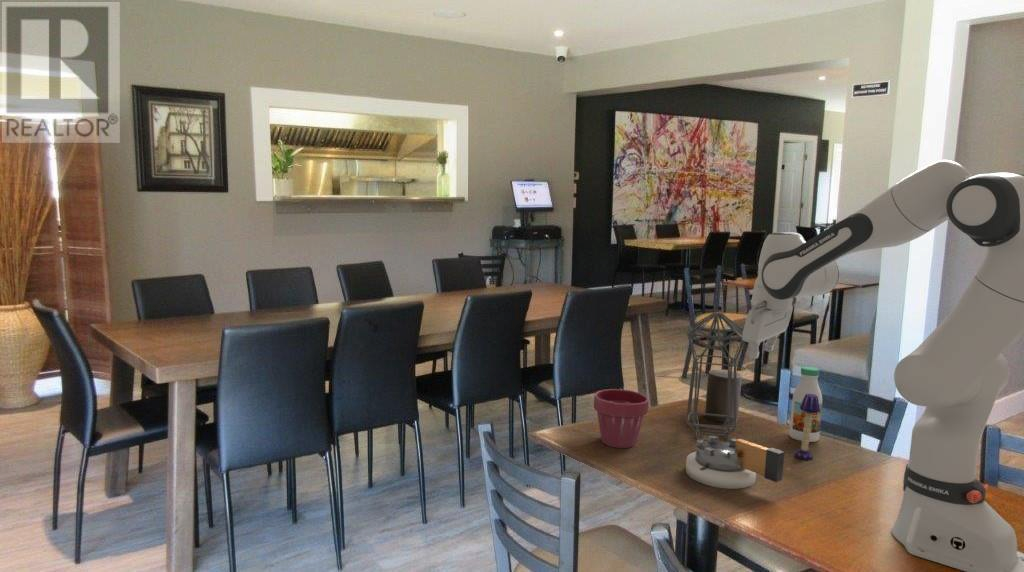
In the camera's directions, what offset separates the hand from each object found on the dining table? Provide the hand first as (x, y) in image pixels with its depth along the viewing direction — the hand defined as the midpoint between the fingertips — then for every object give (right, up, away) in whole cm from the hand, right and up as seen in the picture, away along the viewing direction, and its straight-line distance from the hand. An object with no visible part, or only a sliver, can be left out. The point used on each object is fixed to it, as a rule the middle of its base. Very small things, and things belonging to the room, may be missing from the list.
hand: (760, 354), depth 167 cm
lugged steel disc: (-7, -26, -5) cm, 27 cm away
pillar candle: (+3, -23, +43) cm, 49 cm away
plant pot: (-31, -26, +19) cm, 45 cm away
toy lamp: (+16, -28, +12) cm, 34 cm away
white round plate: (-10, -29, -1) cm, 30 cm away
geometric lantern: (-5, -25, +26) cm, 37 cm away
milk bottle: (+21, -26, +27) cm, 43 cm away
